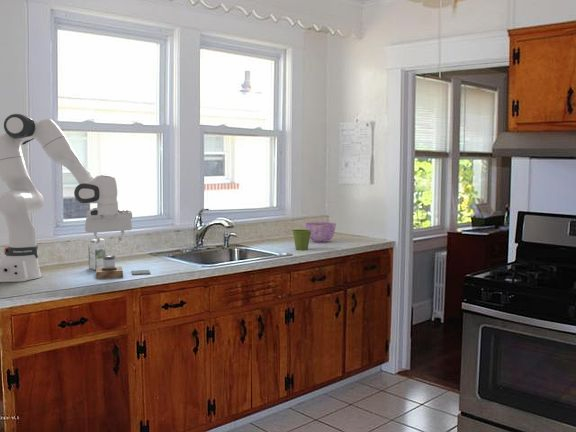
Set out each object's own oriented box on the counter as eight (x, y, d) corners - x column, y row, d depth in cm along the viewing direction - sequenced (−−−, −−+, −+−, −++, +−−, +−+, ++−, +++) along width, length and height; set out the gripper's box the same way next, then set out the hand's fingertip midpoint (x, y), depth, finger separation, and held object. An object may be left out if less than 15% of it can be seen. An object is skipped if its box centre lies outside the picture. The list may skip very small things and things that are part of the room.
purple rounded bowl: (309, 239, 391) (309, 221, 390) (338, 240, 386) (338, 222, 385) (301, 243, 372) (302, 224, 371) (332, 244, 367) (333, 225, 366)
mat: (132, 275, 267) (132, 273, 266) (131, 272, 274) (131, 270, 274) (150, 274, 269) (150, 272, 269) (148, 271, 277) (148, 269, 277)
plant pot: (298, 251, 337) (298, 232, 336) (288, 248, 347) (288, 230, 346) (315, 249, 343) (315, 230, 342) (305, 247, 353) (305, 228, 352)
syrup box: (99, 267, 287) (98, 237, 285) (106, 268, 283) (105, 238, 282) (88, 268, 282) (87, 238, 281) (95, 270, 279) (94, 240, 277)
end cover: (103, 277, 262) (102, 257, 261) (102, 275, 267) (102, 255, 266) (116, 276, 264) (115, 256, 263) (115, 274, 269) (115, 254, 268)
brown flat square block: (96, 278, 258) (96, 272, 258) (96, 274, 269) (96, 267, 269) (122, 277, 262) (122, 270, 261) (121, 272, 272) (121, 266, 272)
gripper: (131, 209, 269) (132, 239, 270) (84, 211, 262) (85, 241, 264) (132, 210, 263) (133, 240, 264) (84, 212, 256) (85, 243, 258)
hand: (109, 241), depth 264 cm, fingers open, 8 cm apart
